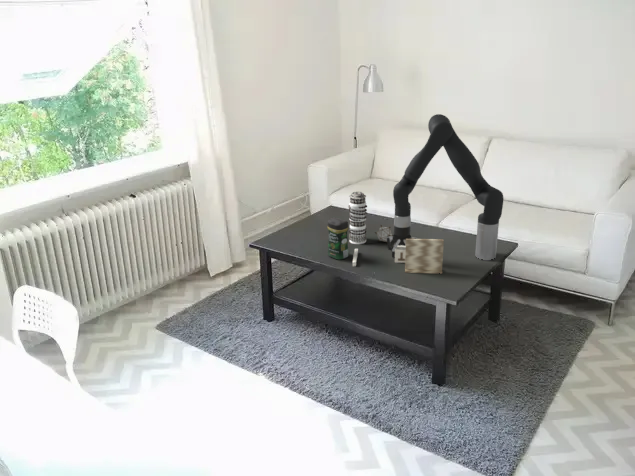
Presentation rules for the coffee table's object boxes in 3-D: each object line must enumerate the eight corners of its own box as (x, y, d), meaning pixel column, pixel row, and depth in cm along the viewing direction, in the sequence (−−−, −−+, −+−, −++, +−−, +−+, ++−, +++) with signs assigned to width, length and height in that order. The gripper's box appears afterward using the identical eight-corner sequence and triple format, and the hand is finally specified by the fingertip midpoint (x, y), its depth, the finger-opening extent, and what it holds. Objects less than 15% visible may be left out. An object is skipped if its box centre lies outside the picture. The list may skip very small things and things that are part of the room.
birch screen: (405, 272, 264) (406, 240, 258) (404, 268, 268) (405, 237, 262) (442, 273, 262) (443, 241, 256) (441, 269, 266) (443, 238, 260)
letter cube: (394, 257, 280) (395, 245, 278) (407, 257, 279) (408, 245, 277) (394, 262, 274) (394, 250, 272) (407, 262, 273) (408, 250, 271)
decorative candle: (367, 237, 304) (367, 190, 295) (366, 244, 295) (367, 196, 286) (349, 237, 305) (348, 190, 295) (348, 244, 296) (347, 195, 287)
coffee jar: (325, 255, 284) (324, 218, 277) (337, 251, 288) (336, 214, 282) (339, 261, 277) (338, 223, 270) (351, 256, 282) (351, 219, 275)
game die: (387, 247, 300) (400, 232, 297) (380, 247, 293) (393, 232, 290) (375, 236, 304) (387, 221, 301) (368, 235, 296) (380, 220, 293)
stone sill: (354, 252, 286) (354, 248, 286) (357, 252, 286) (357, 248, 285) (352, 266, 272) (352, 262, 271) (355, 266, 271) (355, 262, 271)
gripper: (386, 226, 268) (385, 261, 274) (418, 227, 266) (417, 262, 272) (386, 220, 275) (385, 254, 281) (418, 221, 273) (417, 255, 279)
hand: (401, 258), depth 276 cm, fingers closed on letter cube, 6 cm apart
